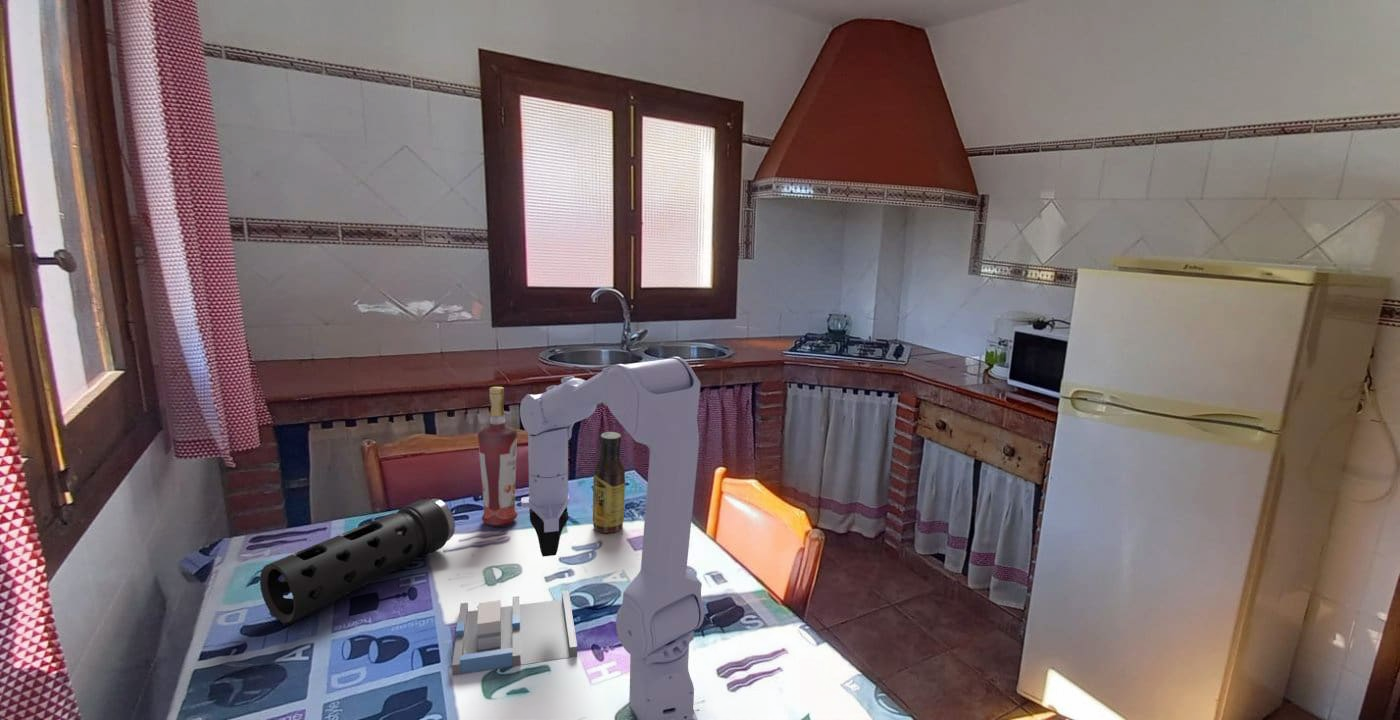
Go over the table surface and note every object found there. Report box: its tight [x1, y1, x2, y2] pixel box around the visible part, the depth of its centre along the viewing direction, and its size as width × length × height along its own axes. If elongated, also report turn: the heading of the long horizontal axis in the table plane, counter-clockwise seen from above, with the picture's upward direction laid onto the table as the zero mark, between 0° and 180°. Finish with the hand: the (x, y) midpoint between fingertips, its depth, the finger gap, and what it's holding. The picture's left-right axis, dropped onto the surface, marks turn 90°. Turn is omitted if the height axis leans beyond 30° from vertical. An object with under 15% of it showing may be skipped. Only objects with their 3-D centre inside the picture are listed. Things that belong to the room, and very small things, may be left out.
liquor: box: [477, 386, 518, 528], centre depth 121 cm, size 7×7×28 cm
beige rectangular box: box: [477, 600, 502, 650], centre depth 87 cm, size 5×3×4 cm, turn 18°
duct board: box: [451, 589, 578, 677], centre depth 88 cm, size 14×16×3 cm
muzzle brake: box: [259, 498, 456, 626], centre depth 100 cm, size 10×28×10 cm, turn 152°
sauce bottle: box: [592, 431, 626, 534], centre depth 121 cm, size 7×6×20 cm
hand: (548, 553), depth 94 cm, fingers closed
